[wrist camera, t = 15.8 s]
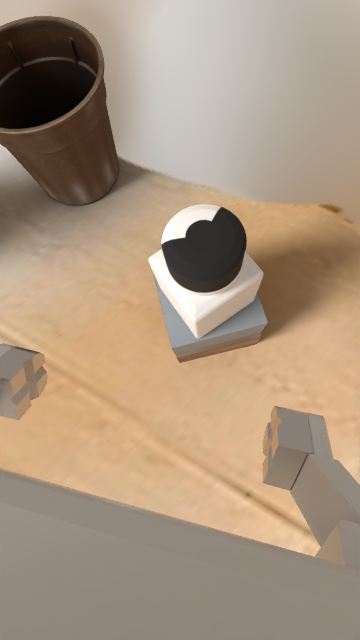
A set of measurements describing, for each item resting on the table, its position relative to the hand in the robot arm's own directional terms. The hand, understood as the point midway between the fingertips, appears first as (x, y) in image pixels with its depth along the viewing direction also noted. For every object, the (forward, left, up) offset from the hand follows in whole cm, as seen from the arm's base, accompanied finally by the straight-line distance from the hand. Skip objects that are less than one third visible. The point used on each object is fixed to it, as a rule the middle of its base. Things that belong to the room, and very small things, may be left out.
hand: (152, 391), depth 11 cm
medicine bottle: (-10, +5, -21) cm, 24 cm away
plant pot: (-37, -7, -31) cm, 49 cm away
